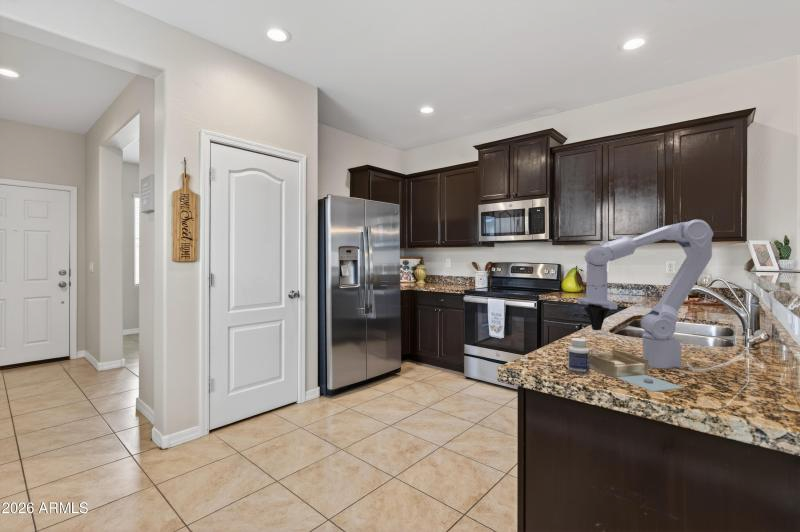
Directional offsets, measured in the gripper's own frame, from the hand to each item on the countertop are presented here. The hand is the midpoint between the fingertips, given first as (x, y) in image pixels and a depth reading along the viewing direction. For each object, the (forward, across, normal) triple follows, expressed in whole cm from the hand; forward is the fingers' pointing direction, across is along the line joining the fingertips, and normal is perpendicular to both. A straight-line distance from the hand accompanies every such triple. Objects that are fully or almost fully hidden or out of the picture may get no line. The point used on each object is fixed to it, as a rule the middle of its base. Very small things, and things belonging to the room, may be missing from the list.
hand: (596, 329), depth 118 cm
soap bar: (+10, +9, -2) cm, 13 cm away
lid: (+11, +21, -2) cm, 24 cm away
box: (+10, +9, -2) cm, 14 cm away
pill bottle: (+11, +8, -12) cm, 18 cm away
